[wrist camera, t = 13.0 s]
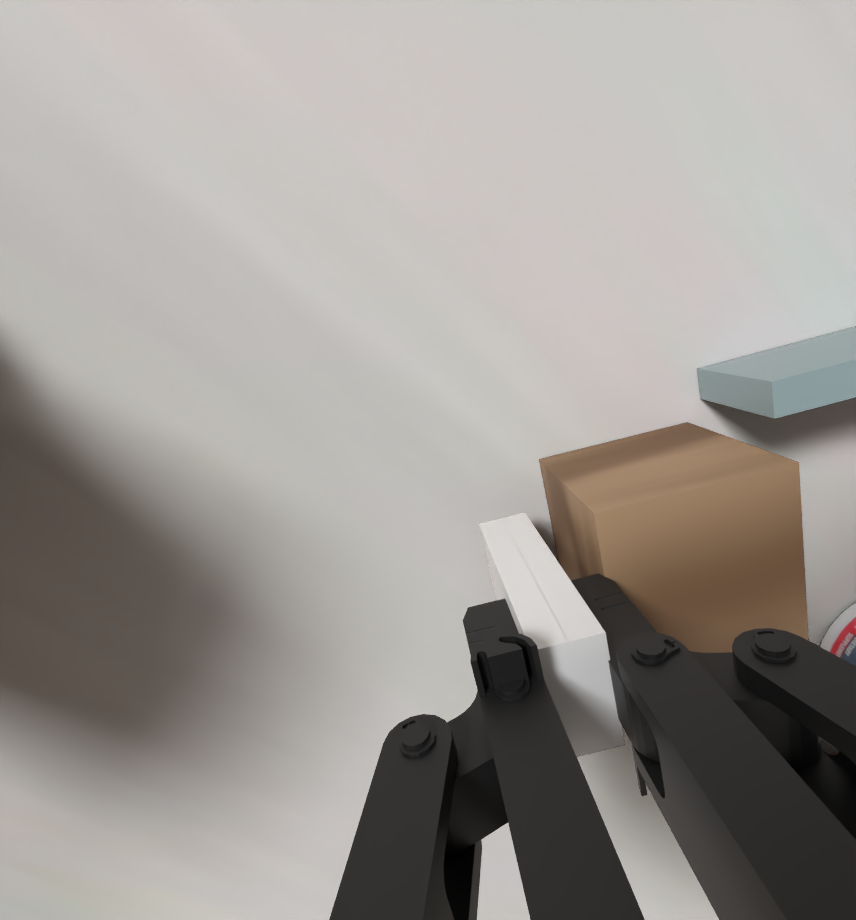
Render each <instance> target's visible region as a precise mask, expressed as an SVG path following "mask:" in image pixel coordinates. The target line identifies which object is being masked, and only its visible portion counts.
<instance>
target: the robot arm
mask: <svg viewBox="0 0 856 920" xmlns="http://www.w3.org/2000/svg"><path fill="white" fill-rule="evenodd" d="M479 527H480V531H481V535H482V540H483V544H484V548H485V552H486V557H487V561H488V565H489V569H490V574H491V578H492V582H493V587H494V591H495V595H496V599H497V601H493V602H489V603H485V604H481V605H477V606H473V607H469V608H468V609H467V612H466V614H465V617H464V619H463V623H464V628H465V632H466V636H467V641H468V645H469V649H470V654H471V665H472V669H473V673H474V677H475V681H476V685H477V689H478V692H477V695H476V698H475V700H474V702H473V703H472V705H471V706H470V707H469V708H468V709H467V710H466V711H465V712H464V713H462V714H461V715H459V716H458V717H456V718H455V719H453V720H451V721H449V722H446V721H445V720H444V719H442V718H440V717H438V716H436V715H426V714H422V715H417V716H413V717H410V718H408V719H406V720H404V721H402V722H400V723H399V724H397V725H396V726H395V727H394V728H393V729H392V730H391V731H390V732H389V734H388V736H387V737H386V739H385V741H384V743H383V746H382V750H381V753H380V756H379V759H378V763H377V766H376V769H375V773H374V776H373V779H372V782H371V786H370V789H369V792H368V795H367V799H366V802H365V805H364V808H363V812H362V815H361V818H360V822H359V825H358V828H357V831H356V835H355V838H354V841H353V844H352V848H351V851H350V854H349V857H348V861H347V864H346V867H345V870H344V874H343V877H342V880H341V884H340V887H339V890H338V893H337V897H336V900H335V903H334V906H333V910H332V913H331V916H330V919H329V920H477V907H478V894H479V881H480V867H481V854H482V843H481V839H483V838H484V837H486V836H487V835H489V834H490V833H492V832H494V831H495V830H497V829H498V828H500V827H501V826H503V825H504V824H506V823H509V827H510V831H511V836H512V840H513V845H514V849H515V853H516V858H517V862H518V866H519V871H520V875H521V879H522V884H523V888H524V893H525V897H526V901H527V906H528V910H529V914H530V919H531V920H644V917H643V915H642V912H641V910H640V908H639V905H638V903H637V901H636V898H635V896H634V893H633V891H632V889H631V886H630V884H629V881H628V879H627V877H626V874H625V872H624V869H623V867H622V865H621V862H620V860H619V857H618V855H617V853H616V850H615V848H614V846H613V843H612V841H611V838H610V836H609V834H608V831H607V829H606V826H605V824H604V822H603V819H602V817H601V814H600V812H599V810H598V807H597V805H596V802H595V800H594V798H593V795H592V793H591V790H590V788H589V786H588V783H587V781H586V779H585V776H584V774H583V771H582V769H581V767H580V764H579V762H578V759H577V757H578V756H582V755H586V754H590V753H594V752H598V751H602V750H606V749H610V748H614V747H618V746H622V745H625V741H624V735H623V730H622V726H623V728H624V730H625V731H626V733H627V735H628V737H629V739H630V740H631V742H632V748H633V754H634V760H635V766H636V772H637V778H638V784H639V788H640V792H641V795H642V796H644V795H647V790H646V784H647V786H648V788H649V790H650V792H651V794H652V795H653V797H654V799H655V801H656V803H657V805H658V807H659V808H660V810H661V812H662V814H663V816H664V818H665V820H666V821H667V823H668V825H669V827H670V829H671V831H672V833H673V834H674V836H675V838H676V840H677V842H678V844H679V846H680V847H681V849H682V851H683V853H684V855H685V857H686V859H687V860H688V862H689V864H690V866H691V868H692V870H693V872H694V873H695V875H696V877H697V879H698V881H699V883H700V885H701V886H702V888H703V890H704V892H705V894H706V896H707V897H708V899H709V901H710V903H711V905H712V907H713V909H714V910H715V912H716V914H717V916H718V918H719V920H856V666H855V665H853V664H851V663H849V662H847V661H846V660H844V659H842V658H840V657H838V656H836V655H834V654H832V653H831V652H829V651H827V650H825V649H823V648H821V647H819V646H817V645H816V644H814V643H812V642H810V641H808V640H806V639H804V638H802V637H800V636H798V635H795V634H793V633H790V632H788V631H784V630H778V629H772V628H762V629H753V630H749V631H745V632H743V633H741V634H740V635H739V636H737V637H736V638H735V639H734V642H733V645H732V652H725V653H701V652H692V651H689V650H688V649H687V648H686V647H685V646H684V645H683V644H682V643H681V642H679V641H678V640H677V639H675V638H673V637H670V636H668V635H665V634H660V633H657V631H656V630H655V629H654V628H653V627H652V625H651V624H650V623H649V622H648V621H647V620H646V618H645V617H644V616H643V615H642V614H641V612H640V611H639V610H638V609H637V608H636V606H635V605H634V604H633V603H631V600H630V599H629V598H628V597H627V596H626V594H624V592H623V591H622V590H621V588H620V587H619V586H618V585H617V584H616V582H615V581H613V580H611V579H609V578H607V577H604V576H603V575H601V574H599V573H598V574H594V575H590V576H587V577H583V578H579V579H575V580H570V579H569V577H568V576H567V574H566V573H565V571H564V570H563V568H562V567H561V566H560V564H559V563H558V561H557V560H556V558H555V557H554V555H553V554H552V552H551V551H550V549H549V548H548V546H547V545H546V543H545V542H544V540H543V539H542V537H541V536H540V534H539V533H538V531H537V530H536V528H535V527H534V525H533V524H532V522H531V521H530V519H529V518H528V516H527V515H526V513H525V512H524V513H520V514H516V515H513V516H509V517H505V518H501V519H497V520H493V521H489V522H485V523H481V524H479ZM821 738H822V739H823V740H825V741H826V742H828V743H829V744H831V745H832V746H833V747H832V746H831V745H829V744H828V743H826V742H825V741H823V740H822V739H821ZM834 747H835V748H834ZM645 782H646V784H645Z"/></svg>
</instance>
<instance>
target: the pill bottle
mask: <svg viewBox="0 0 856 920" xmlns="http://www.w3.org/2000/svg"><path fill="white" fill-rule="evenodd" d="M820 647H821V648H823V649H825V650H827V651H829V652H831V653H832V654H834V655H836V656H838V657H840V658H842V659H844V660H846V661H847V662H849V663H851V664H853V665H855V666H856V603H854V604H853V605H851V606H850V607H849V608H847V609H846V610H845V611H844V612H843V613H841V614H840V615H839V616H838V617H837V619H836V620H835V621H834V622H833V623H832V625H831V626H830V628H829V629H828V631H827V632H826V634H825V636H824V638H823V640H822V643H821V645H820Z"/></svg>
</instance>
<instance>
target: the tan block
mask: <svg viewBox="0 0 856 920" xmlns="http://www.w3.org/2000/svg"><path fill="white" fill-rule="evenodd" d="M539 462H540V467H541V472H542V477H543V482H544V488H545V493H546V498H547V503H548V508H549V514H550V519H551V524H552V529H553V534H554V540H555V545H556V550H557V555H558V560H559V564H560V566H561V567H562V568H563V570H564V571H565V573H566V574H567V576H568V577H569V579H570V580H575V579H579V578H583V577H587V576H590V575H594V574H598V573H599V574H601V575H603V576H604V577H607V578H609V579H611V580H613V581H615V582H616V584H617V585H618V586H619V587H620V588H621V590H622V591H623V592H624V594H626V596H627V597H628V598H629V599H630V600H631V603H633V604H634V605H635V606H636V608H637V609H638V610H639V611H640V612H641V614H642V615H643V616H644V617H645V618H646V620H647V621H648V622H649V623H650V624H651V625H652V627H653V628H654V629H655V630H656V631H657V633H660V634H665V635H668V636H670V637H673V638H675V639H677V640H678V641H679V642H681V643H682V644H683V645H684V646H685V647H686V648H687V649H688V650H689V651H692V652H701V653H725V652H732V645H733V642H734V639H735V638H736V637H737V636H739V635H740V634H741V633H743V632H745V631H749V630H753V629H762V628H772V629H778V630H784V631H788V632H790V633H793V634H795V635H798V636H800V637H802V638H804V639H806V640H808V641H809V639H808V621H807V603H806V585H805V567H804V548H803V530H802V512H801V494H800V476H799V462H797V461H794V460H791V459H788V458H785V457H783V456H780V455H777V454H774V453H771V452H769V451H766V450H763V449H760V448H758V447H755V446H752V445H749V444H746V443H744V442H741V441H738V440H735V439H733V438H730V437H727V436H724V435H721V434H719V433H716V432H713V431H710V430H707V429H705V428H702V427H699V426H696V425H694V424H691V423H688V422H687V423H683V424H679V425H675V426H671V427H667V428H663V429H659V430H655V431H651V432H647V433H643V434H639V435H635V436H631V437H627V438H622V439H618V440H614V441H610V442H606V443H602V444H598V445H594V446H590V447H586V448H582V449H578V450H574V451H570V452H566V453H562V454H558V455H554V456H550V457H546V458H542V459H539Z"/></svg>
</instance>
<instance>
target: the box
mask: <svg viewBox="0 0 856 920" xmlns="http://www.w3.org/2000/svg"><path fill="white" fill-rule="evenodd" d="M697 373H698V381H699V390H700V398H701V399H703V400H707V401H710V402H714V403H718V404H722V405H725V406H729V407H733V408H736V409H740V410H744V411H748V412H751V413H755V414H759V415H762V416H766V417H770V418H774V419H776V418H780V417H783V416H787V415H791V414H795V413H798V412H802V411H806V410H810V409H814V408H817V407H821V406H825V405H829V404H832V403H836V402H840V401H844V400H848V399H851V398H855V397H856V327H852V328H848V329H845V330H841V331H837V332H833V333H830V334H826V335H822V336H818V337H814V338H811V339H807V340H803V341H799V342H796V343H792V344H788V345H784V346H781V347H777V348H773V349H769V350H766V351H762V352H758V353H754V354H751V355H747V356H743V357H739V358H735V359H732V360H728V361H724V362H720V363H717V364H713V365H709V366H705V367H702V368H698V369H697ZM821 739H822V738H821ZM822 740H823V739H822ZM823 741H825V740H823ZM825 742H826V741H825ZM826 743H828V742H826ZM828 744H829V743H828ZM829 745H831V744H829ZM831 746H832V745H831ZM832 747H833V746H832ZM834 748H835V747H834Z"/></svg>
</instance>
